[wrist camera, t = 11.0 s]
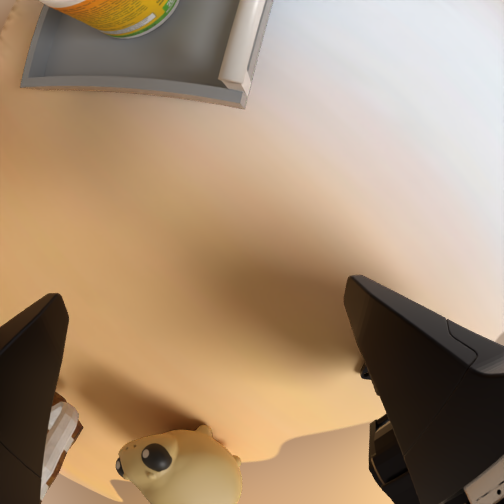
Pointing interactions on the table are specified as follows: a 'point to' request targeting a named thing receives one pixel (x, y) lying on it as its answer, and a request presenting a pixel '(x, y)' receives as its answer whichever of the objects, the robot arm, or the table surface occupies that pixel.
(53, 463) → the mug
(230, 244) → the table surface
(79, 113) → the table surface
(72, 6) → the supplement bottle
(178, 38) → the grey toy cart
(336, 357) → the table surface
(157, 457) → the yellow toy creature
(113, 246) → the table surface
